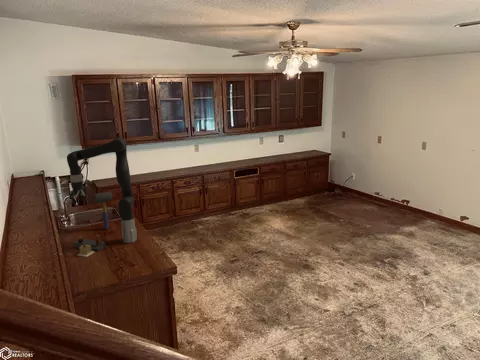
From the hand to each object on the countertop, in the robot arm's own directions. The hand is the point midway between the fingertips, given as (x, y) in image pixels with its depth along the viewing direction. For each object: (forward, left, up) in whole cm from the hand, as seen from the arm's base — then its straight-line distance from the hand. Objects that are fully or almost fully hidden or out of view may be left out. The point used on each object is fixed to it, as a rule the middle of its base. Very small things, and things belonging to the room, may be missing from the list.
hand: (79, 202), depth 258 cm
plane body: (-10, +6, -30) cm, 32 cm away
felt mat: (-14, +15, -30) cm, 36 cm away
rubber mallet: (0, -26, -30) cm, 40 cm away
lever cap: (-14, +15, -30) cm, 36 cm away
